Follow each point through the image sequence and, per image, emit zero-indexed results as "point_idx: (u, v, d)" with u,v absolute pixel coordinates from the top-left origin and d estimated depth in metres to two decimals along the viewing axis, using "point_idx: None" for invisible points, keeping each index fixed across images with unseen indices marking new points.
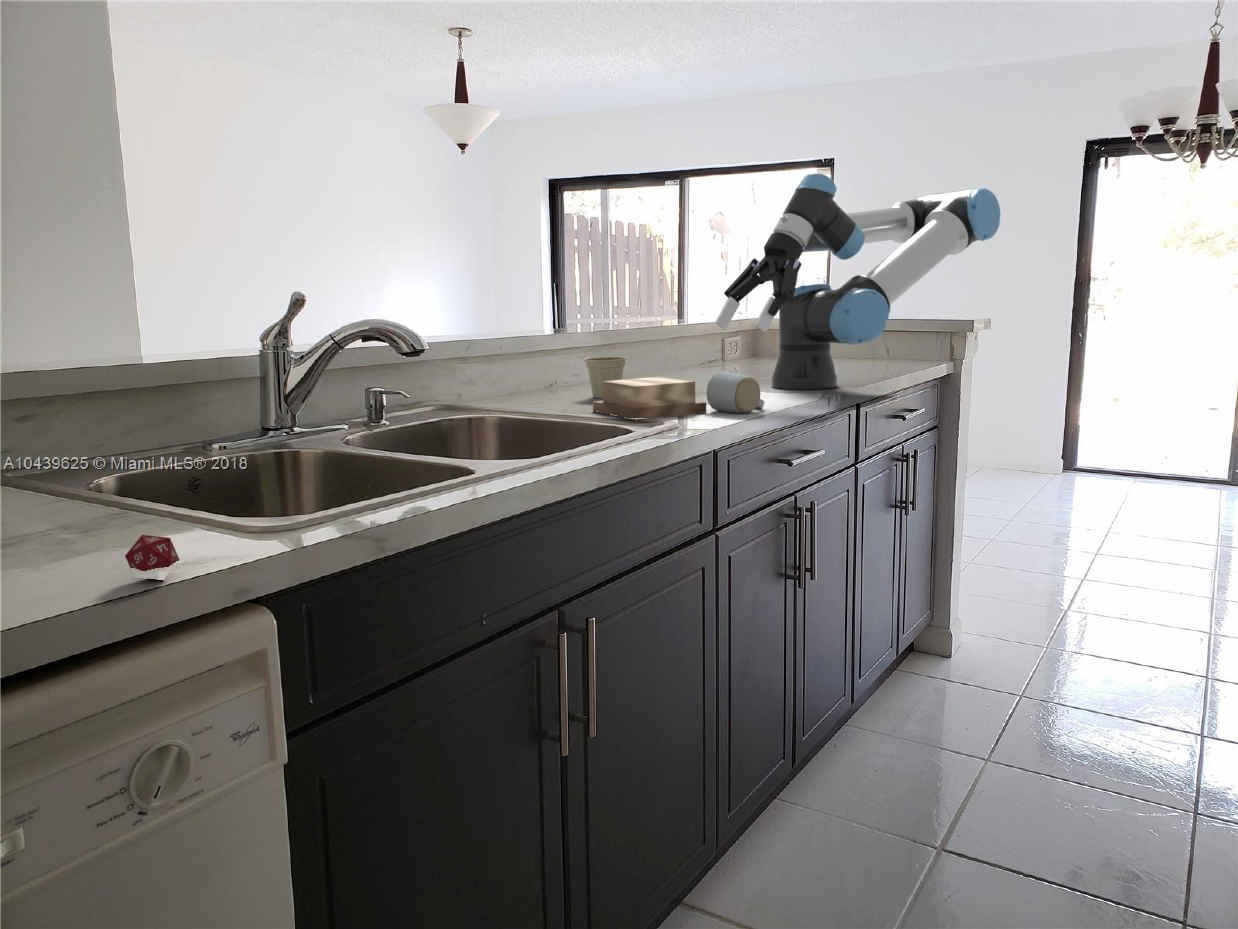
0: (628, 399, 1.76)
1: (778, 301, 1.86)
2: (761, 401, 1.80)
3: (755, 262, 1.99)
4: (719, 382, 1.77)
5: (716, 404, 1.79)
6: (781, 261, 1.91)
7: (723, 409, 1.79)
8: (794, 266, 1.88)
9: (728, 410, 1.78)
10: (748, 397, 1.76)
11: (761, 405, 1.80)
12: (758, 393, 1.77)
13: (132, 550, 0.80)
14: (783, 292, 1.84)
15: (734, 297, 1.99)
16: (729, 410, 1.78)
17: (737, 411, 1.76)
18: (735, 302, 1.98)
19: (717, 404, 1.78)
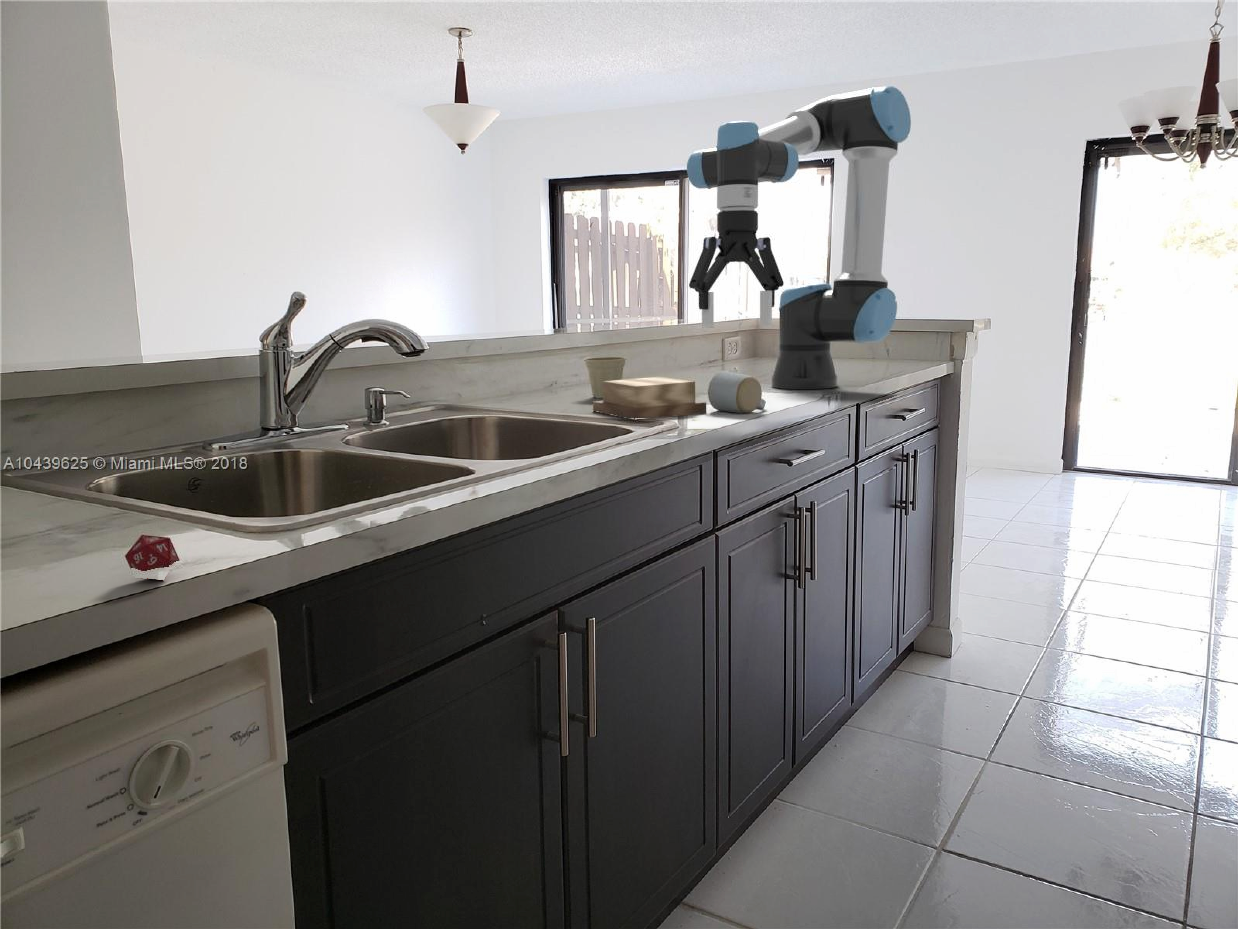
0: (628, 399, 1.76)
1: None
2: (762, 401, 1.80)
3: None
4: (720, 382, 1.78)
5: (717, 404, 1.79)
6: (755, 243, 1.75)
7: (725, 409, 1.79)
8: None
9: (729, 410, 1.78)
10: (749, 397, 1.76)
11: (762, 405, 1.80)
12: (759, 393, 1.77)
13: (132, 550, 0.80)
14: (781, 284, 1.80)
15: None
16: (730, 410, 1.78)
17: (738, 411, 1.76)
18: None
19: (718, 403, 1.79)
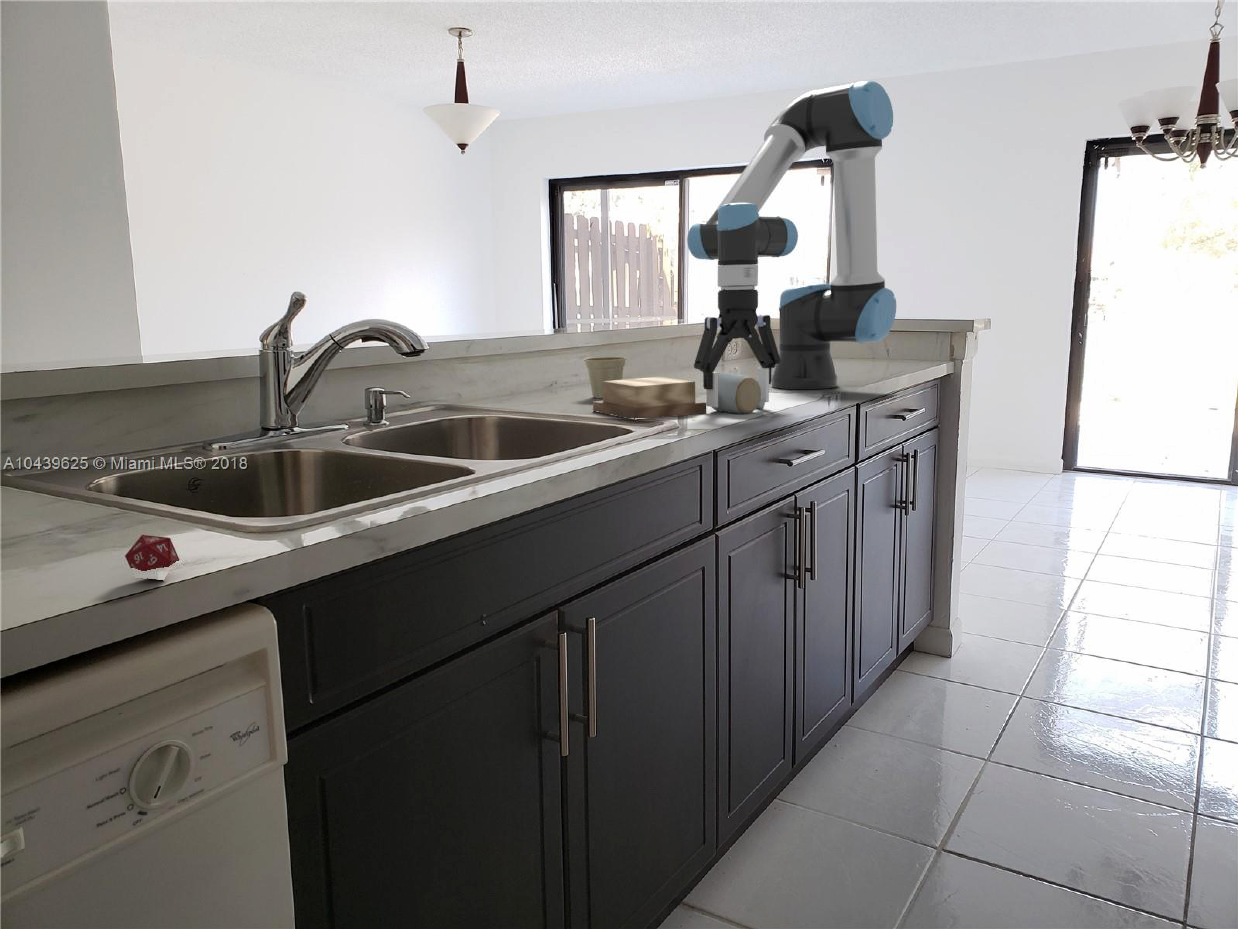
0: (628, 399, 1.76)
1: None
2: (762, 402, 1.80)
3: None
4: (720, 383, 1.77)
5: None
6: (755, 320, 1.78)
7: (724, 410, 1.79)
8: None
9: (729, 410, 1.78)
10: (749, 397, 1.76)
11: (762, 406, 1.80)
12: (759, 394, 1.77)
13: (132, 550, 0.80)
14: (778, 362, 1.82)
15: None
16: (729, 411, 1.78)
17: (738, 412, 1.76)
18: None
19: None
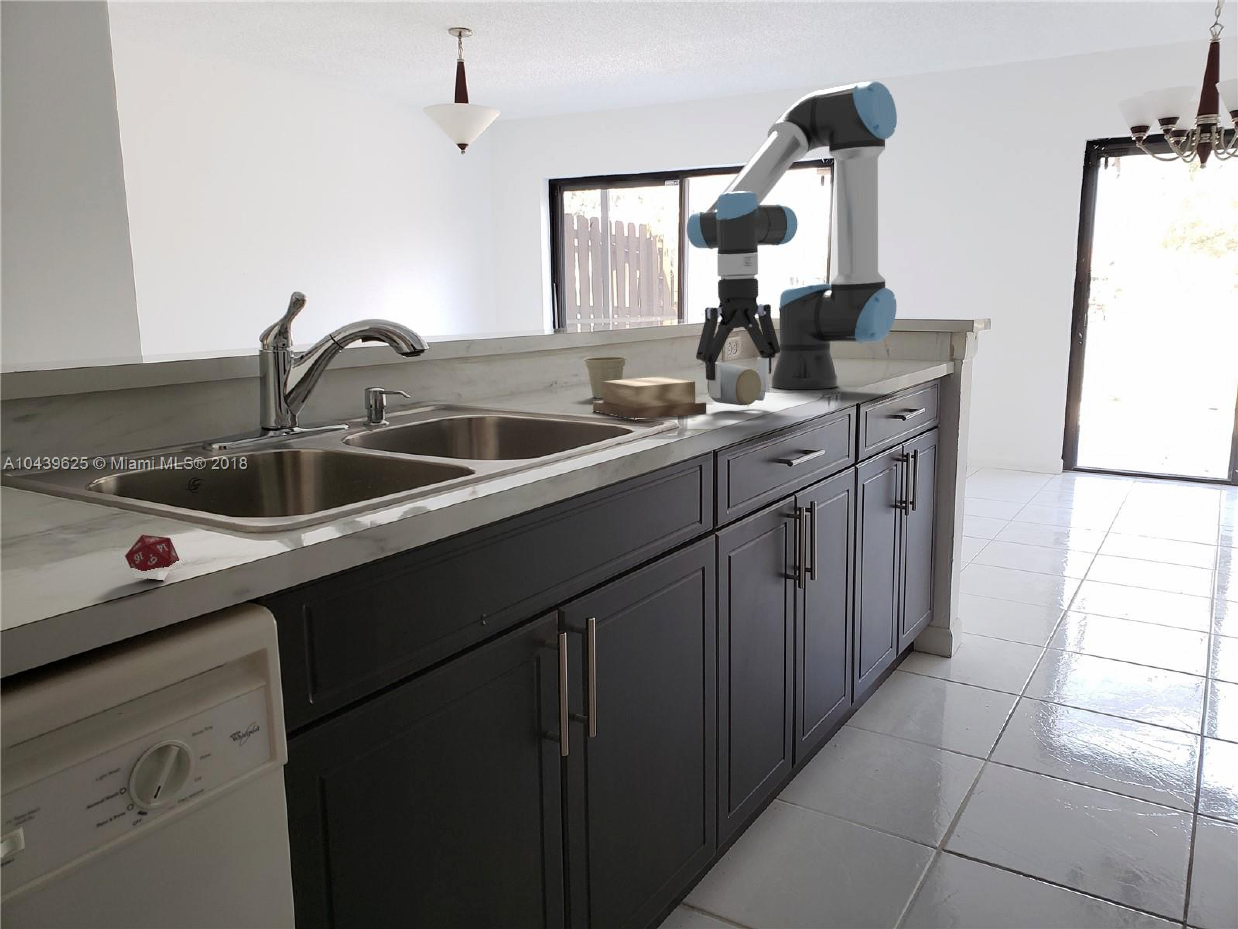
0: (628, 399, 1.76)
1: None
2: (762, 392, 1.80)
3: None
4: (720, 374, 1.77)
5: None
6: (755, 309, 1.78)
7: (724, 402, 1.79)
8: None
9: (729, 402, 1.78)
10: (749, 389, 1.76)
11: (762, 396, 1.80)
12: (759, 385, 1.77)
13: (132, 550, 0.80)
14: (778, 351, 1.82)
15: None
16: (730, 402, 1.78)
17: (738, 403, 1.76)
18: None
19: None
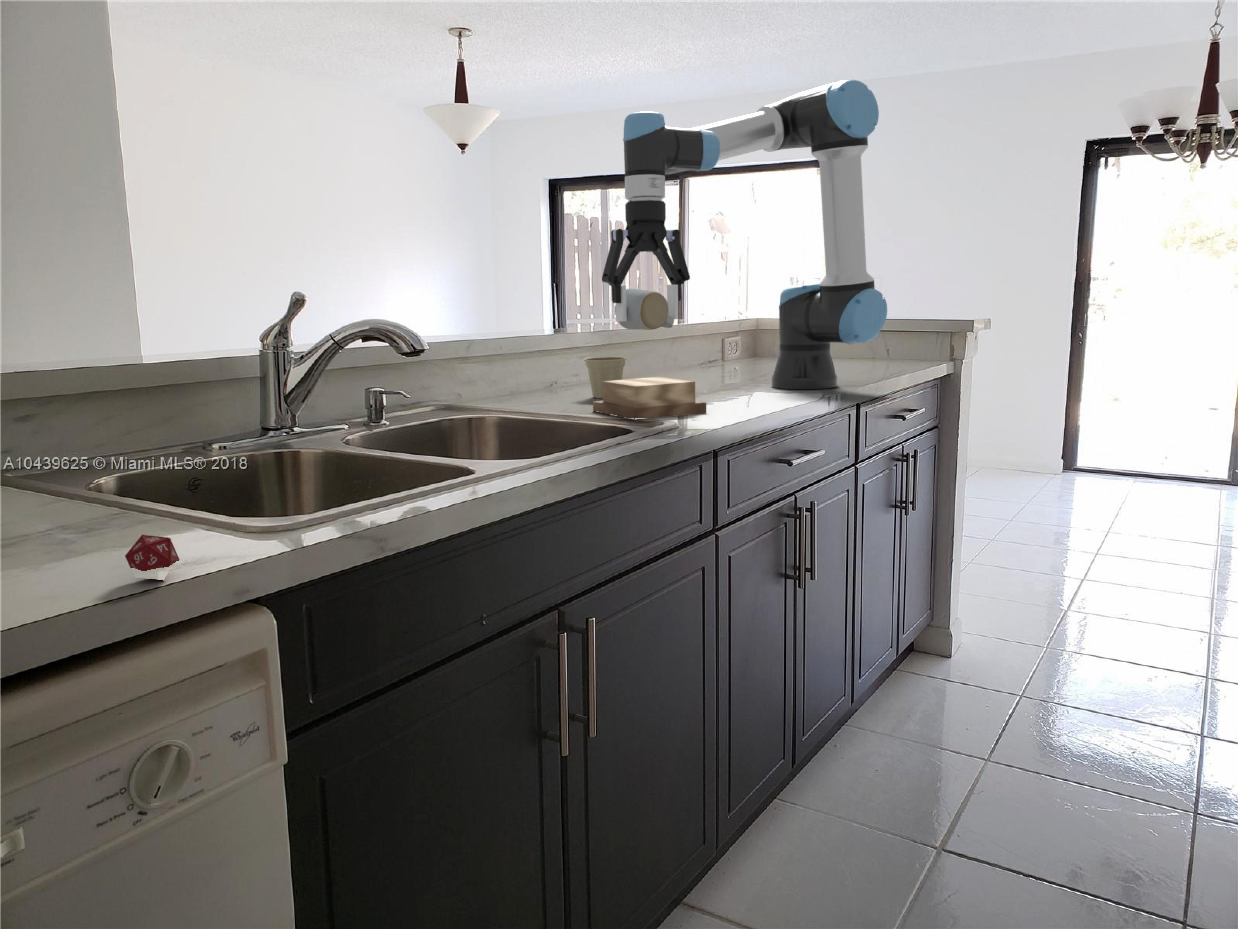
0: (628, 399, 1.76)
1: None
2: (670, 318, 1.78)
3: None
4: (626, 298, 1.76)
5: (624, 321, 1.77)
6: (663, 233, 1.77)
7: (632, 326, 1.78)
8: None
9: (636, 326, 1.77)
10: (655, 312, 1.75)
11: (670, 322, 1.79)
12: (666, 309, 1.76)
13: (132, 550, 0.80)
14: (687, 278, 1.81)
15: None
16: (637, 327, 1.77)
17: (644, 327, 1.75)
18: None
19: None
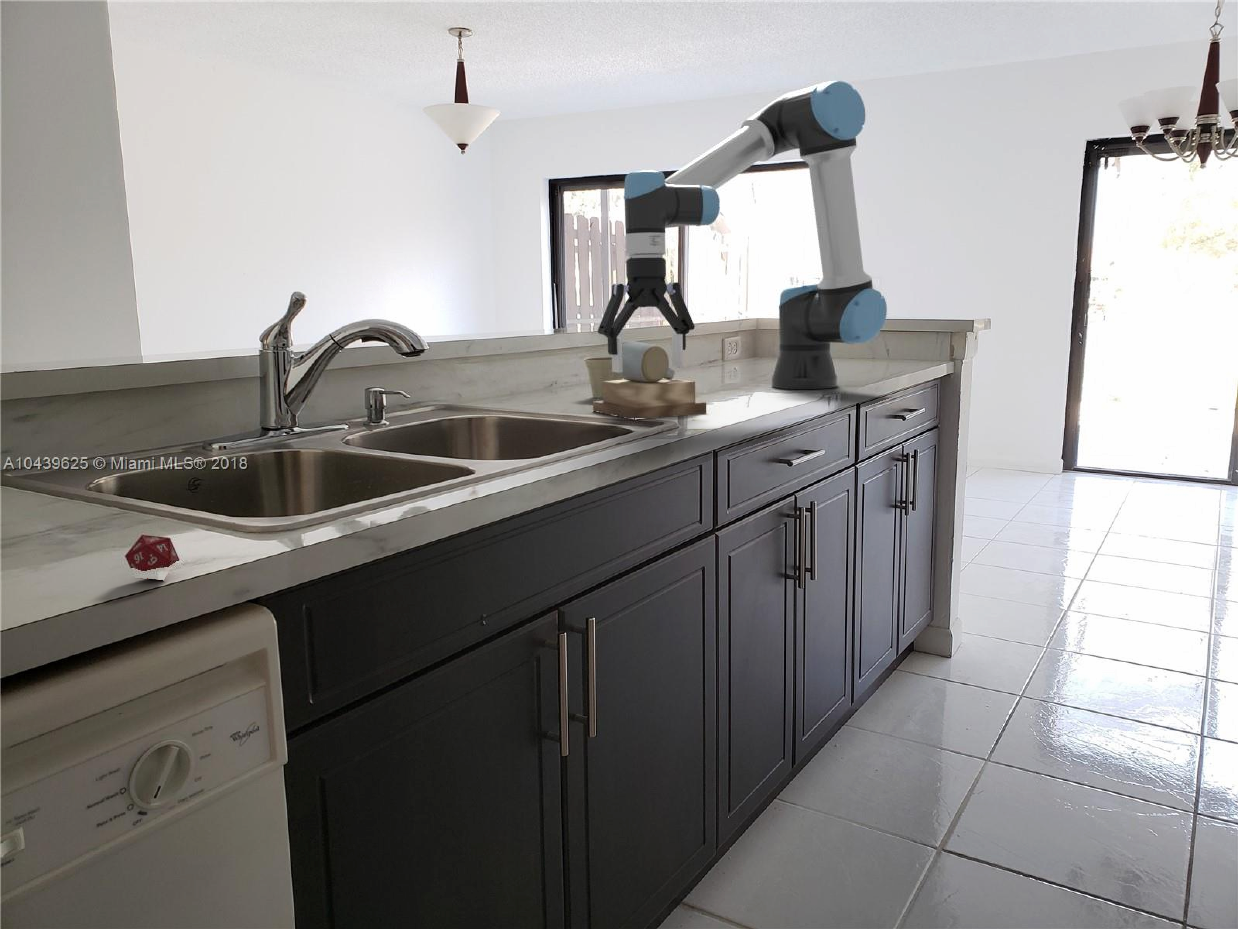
0: (628, 399, 1.76)
1: None
2: (670, 371, 1.80)
3: None
4: (627, 351, 1.78)
5: (625, 373, 1.79)
6: (664, 288, 1.79)
7: (632, 379, 1.80)
8: None
9: (637, 379, 1.79)
10: (655, 366, 1.77)
11: (671, 375, 1.81)
12: (666, 362, 1.78)
13: (132, 550, 0.80)
14: (692, 328, 1.83)
15: None
16: (637, 379, 1.79)
17: (645, 380, 1.77)
18: None
19: (626, 373, 1.79)
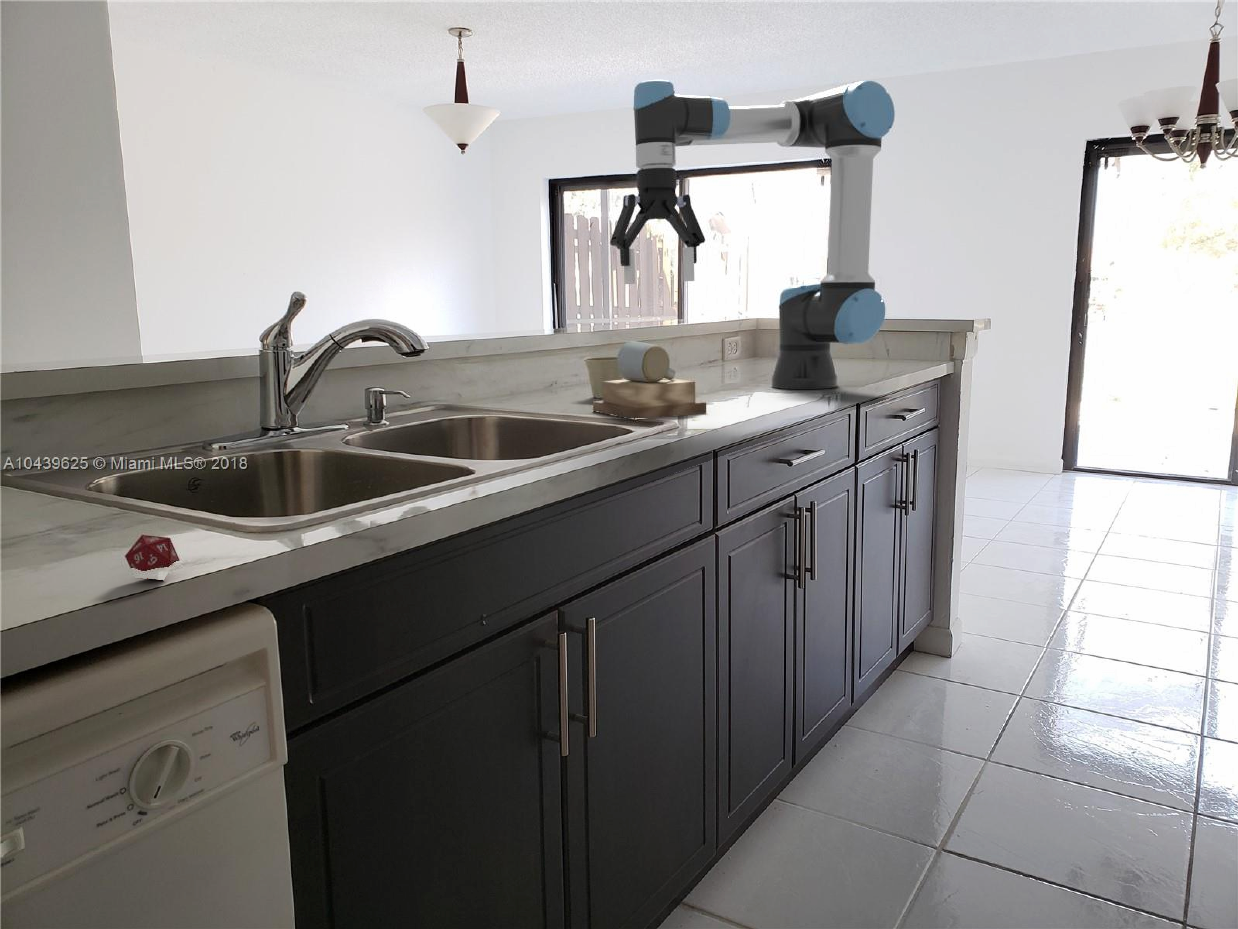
0: (628, 399, 1.76)
1: None
2: (671, 370, 1.80)
3: None
4: (628, 351, 1.78)
5: (626, 373, 1.80)
6: (675, 200, 1.80)
7: (633, 379, 1.80)
8: None
9: (637, 379, 1.79)
10: (656, 366, 1.77)
11: (671, 374, 1.81)
12: (667, 362, 1.78)
13: (132, 550, 0.80)
14: (703, 241, 1.84)
15: None
16: (638, 379, 1.79)
17: (645, 380, 1.77)
18: None
19: (626, 373, 1.79)
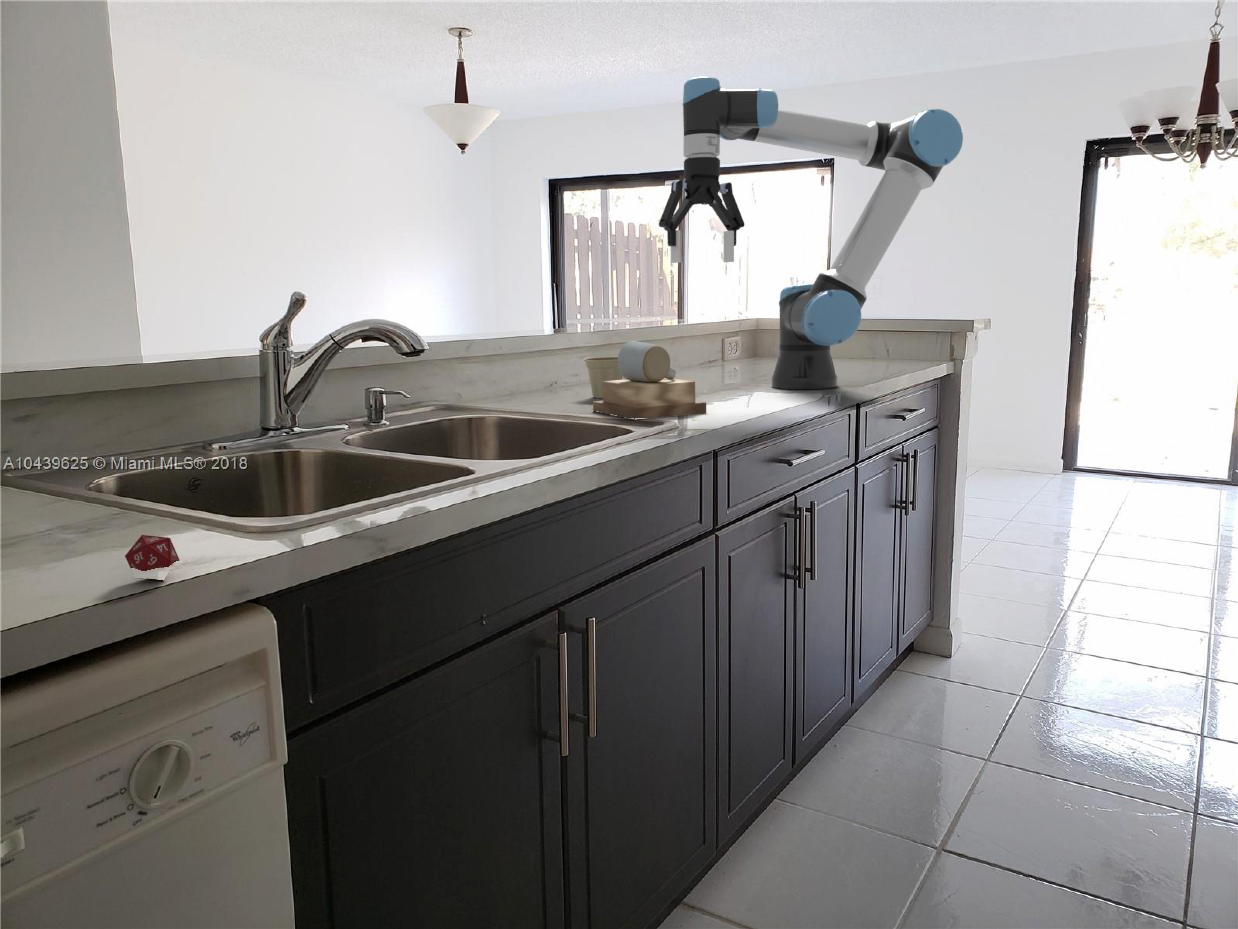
0: (628, 399, 1.76)
1: None
2: (672, 370, 1.81)
3: None
4: (629, 351, 1.78)
5: (627, 373, 1.80)
6: (718, 187, 1.97)
7: (634, 379, 1.80)
8: None
9: (638, 379, 1.79)
10: (657, 366, 1.77)
11: (672, 374, 1.81)
12: (668, 362, 1.78)
13: (132, 550, 0.80)
14: (742, 225, 2.01)
15: None
16: (639, 379, 1.79)
17: (646, 380, 1.77)
18: None
19: (627, 373, 1.79)
